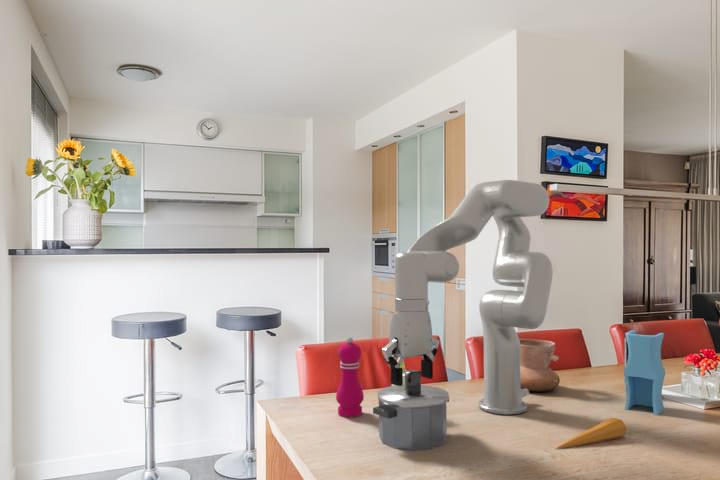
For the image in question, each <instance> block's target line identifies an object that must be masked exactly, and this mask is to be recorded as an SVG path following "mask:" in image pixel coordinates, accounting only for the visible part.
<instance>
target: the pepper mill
mask: <svg viewBox="0 0 720 480" xmlns="http://www.w3.org/2000/svg"><path fill="white" fill-rule="evenodd" d="M353 341H354V340H353V338H352V337H351V336H348V337H347V338H346V339H345V343H343V344H341V345H340V346H339V349H338V351H337V352H338V353H337V355H338V358H339V360H340V362H339V364H340V366H339V367H340V369H341V381H340V383H339V385H338V388H337V390H336V392H335V393H336V394H335V400H336V402H337V403H338V407H337V414H338V415H339V416H340V417H343V418H357V417H360V416H361V415H362V414H363V407H362V406H361V404H362V403H363V401H364V397H365V396H364V392H363V388H362V386H361V384H360V381H359V378H358V369H359V367H360V361H359V359H360V358H361V355H362V350H361V347H360V346H359V345H358V344H356V343H354V342H353Z"/></svg>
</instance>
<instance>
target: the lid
mask: <svg viewBox="0 0 720 480" xmlns="http://www.w3.org/2000/svg"><path fill="white" fill-rule="evenodd" d="M405 370H406V371H405V385H402V386H397V385H395V386H392V385H390V386H385V387H384V388H381V389H380V390H378V392H377V393H378V394H377V399H378V402H379V401H380V402H382V403H384V404H387V405H390V406H394V407H400V408H412V409H420V408H431V407H437V406H441V405H443V404H445V403H446V404H447V403H449V402H448V400H449V401H450V396H449V392H448V391H447V390H445V389H443V388H440V387H436V386H433V385H432V386H431V385H426V384H422V376H421V370H419V369H405Z"/></svg>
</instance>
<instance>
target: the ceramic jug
mask: <svg viewBox="0 0 720 480" xmlns="http://www.w3.org/2000/svg"><path fill="white" fill-rule="evenodd" d="M519 340H520V374H521V389H525V388H526V389H528V390H529V392H536V393H540V392H547V391H551V390H554V389H556V388H557V387H558V386H559V384H560V383H561V382H560V381H561V379H560V376H559V375H558V373H556V372H555V370H553V369H551V368H550V367H549V365H550V364H551V361H554V362H557V360H560V358H559V356H557V355H554V353H555V349H556V343H555V342H553V341H550V340H544V339H543V340H542V339H541V340H540V339H532V338H519Z"/></svg>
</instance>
